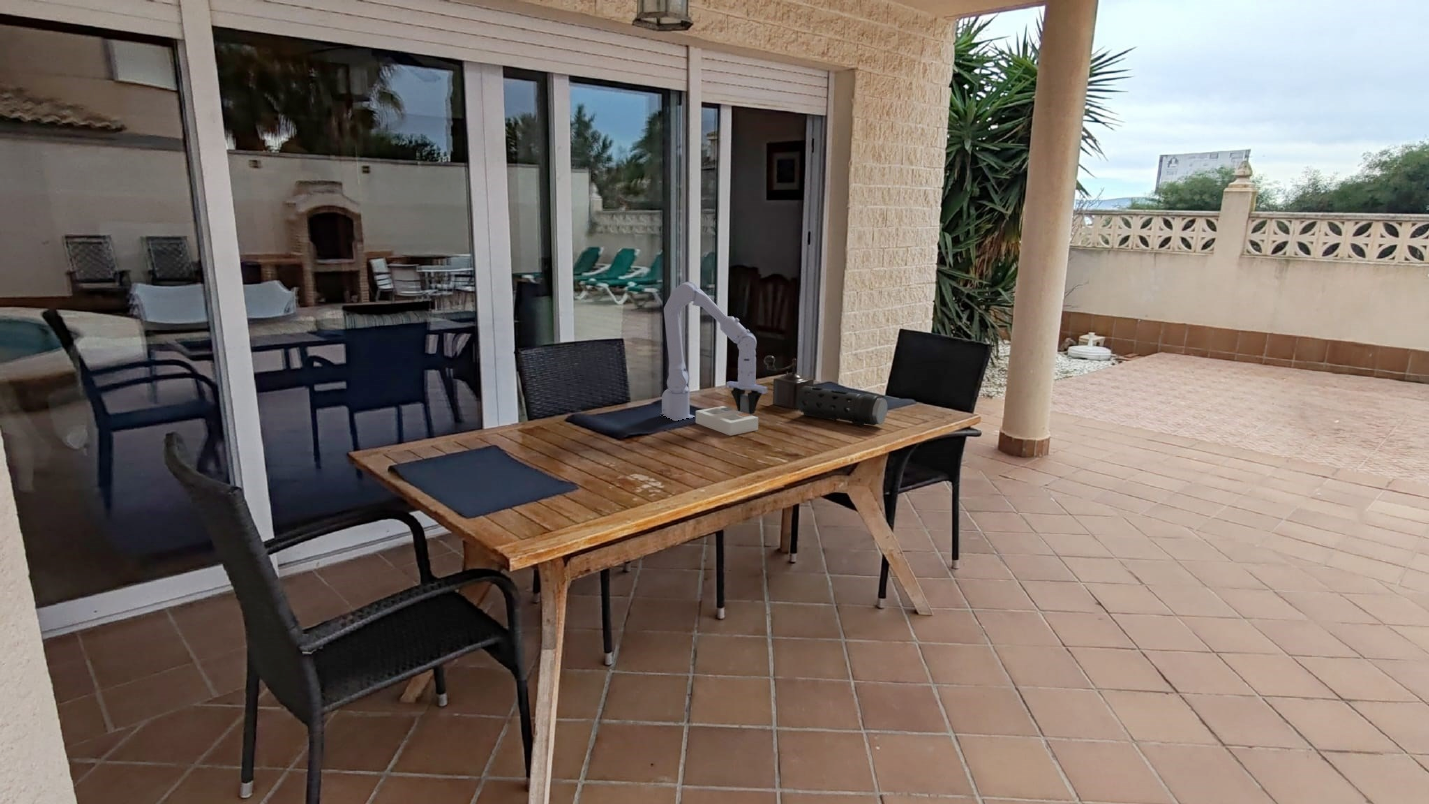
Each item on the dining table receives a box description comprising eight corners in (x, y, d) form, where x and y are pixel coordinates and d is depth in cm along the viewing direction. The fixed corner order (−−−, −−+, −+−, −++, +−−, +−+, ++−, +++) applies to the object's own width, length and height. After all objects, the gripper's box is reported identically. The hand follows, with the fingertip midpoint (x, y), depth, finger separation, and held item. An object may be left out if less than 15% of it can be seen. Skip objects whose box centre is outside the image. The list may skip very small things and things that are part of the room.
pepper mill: (790, 399, 277) (792, 350, 273) (813, 405, 269) (815, 354, 265) (760, 406, 267) (761, 355, 263) (783, 412, 259) (784, 360, 255)
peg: (737, 418, 250) (737, 395, 248) (746, 417, 252) (747, 393, 251) (745, 421, 247) (745, 397, 245) (754, 419, 249) (755, 395, 247)
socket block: (695, 422, 245) (695, 409, 244) (722, 417, 251) (722, 405, 250) (730, 435, 231) (730, 422, 230) (758, 429, 238) (758, 416, 236)
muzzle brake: (810, 412, 260) (811, 382, 257) (887, 425, 244) (889, 394, 241) (796, 418, 252) (797, 387, 250) (875, 432, 236) (876, 399, 234)
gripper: (721, 370, 247) (721, 411, 250) (759, 376, 239) (758, 418, 242) (733, 367, 252) (733, 406, 256) (771, 372, 244) (770, 413, 248)
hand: (746, 412), depth 249 cm, fingers closed on peg, 4 cm apart
